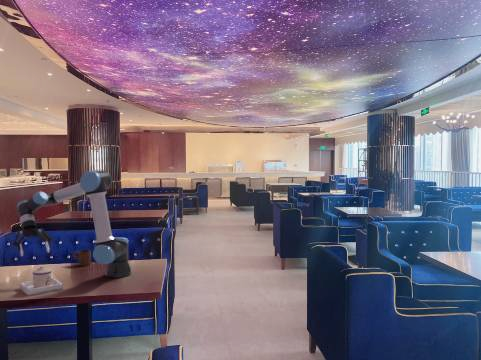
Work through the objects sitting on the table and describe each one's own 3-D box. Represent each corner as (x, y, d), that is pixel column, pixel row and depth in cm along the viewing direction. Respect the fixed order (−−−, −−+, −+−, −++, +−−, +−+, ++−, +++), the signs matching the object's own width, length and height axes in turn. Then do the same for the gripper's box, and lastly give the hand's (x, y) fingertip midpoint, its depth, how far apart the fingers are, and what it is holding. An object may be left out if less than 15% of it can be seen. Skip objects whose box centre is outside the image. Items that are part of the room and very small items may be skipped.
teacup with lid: (49, 289, 213) (49, 267, 212) (30, 290, 211) (30, 268, 210) (54, 283, 224) (54, 262, 224) (36, 284, 222) (36, 263, 222)
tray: (62, 289, 216) (62, 283, 216) (28, 295, 205) (28, 290, 205) (53, 282, 229) (53, 277, 229) (20, 288, 218) (20, 282, 218)
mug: (70, 266, 267) (70, 252, 267) (74, 263, 274) (74, 249, 274) (88, 266, 268) (88, 252, 267) (92, 263, 275) (92, 249, 275)
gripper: (49, 225, 246) (57, 253, 235) (3, 229, 229) (9, 260, 219) (52, 217, 242) (60, 246, 231) (5, 221, 225) (11, 252, 214)
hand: (35, 253), depth 225 cm, fingers open, 13 cm apart
